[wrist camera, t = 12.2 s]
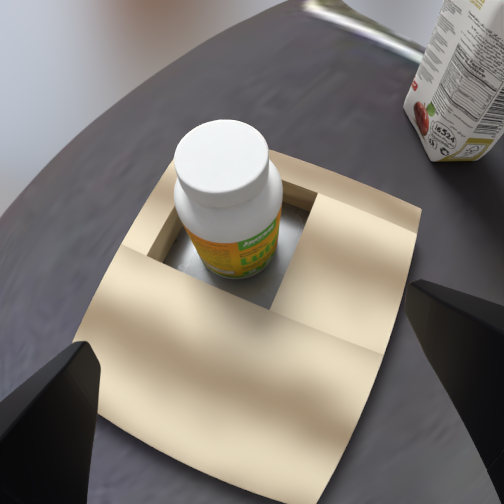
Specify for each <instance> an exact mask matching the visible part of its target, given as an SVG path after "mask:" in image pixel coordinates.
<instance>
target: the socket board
mask: <svg viewBox="0 0 504 504" xmlns="http://www.w3.org/2000/svg"><path fill="white" fill-rule="evenodd" d="M268 150H269V149H268ZM269 159H270V160H271V161H272V163H273V164H274V165H275V167H276V168H277V170H278V172H279V174H280V177H281V181H282V186H283V198H282V208H281V217H280V226H279V235H278V243H277V248H276V252H275V254H274V257H273V258H272V260H271V262H270V263H269V264H268V265H267V266H266V267H265V268H264V269H263V270H262V271H261V272H259V273H257V274H256V275H254V276H251V277H248V278H244V279H229V278H224V277H221V276H219V275H217V274H215V273H213V272H212V271H211V270H210V269H208V268H207V267H206V265H205V264H204V263H203V262H202V260H201V259H200V257H199V255H198V253H197V251H196V249H195V247H194V245H193V243H192V241H191V239H190V237H189V235H188V233H187V232H186V230H185V228H184V226H183V224H182V222H181V220H180V218H179V216H178V213H177V210H176V207H175V203H174V187H175V183H176V180H177V177H178V176H177V174H176V171H175V167H174V159H173V161H172V162H171V164H170V165H169V167H168V168H167V170H166V171H165V173H164V174H163V176H162V177H161V179H160V180H159V182H158V184H157V185H156V187H155V188H154V190H153V191H152V193H151V195H150V196H149V198H148V200H147V201H146V203H145V204H144V206H143V208H142V209H141V211H140V213H139V214H138V216H137V218H136V219H135V221H134V223H133V225H132V226H131V228H130V230H129V232H128V233H127V235H126V237H125V239H124V240H123V242H122V244H121V246H120V247H119V249H118V251H117V253H116V255H115V257H114V258H113V260H112V262H111V264H110V266H109V268H108V270H107V272H106V273H105V275H104V277H103V279H102V281H101V283H100V285H99V287H98V289H97V291H96V293H95V295H94V297H93V299H92V301H91V303H90V305H89V307H88V309H87V312H86V314H85V316H84V318H83V320H82V322H81V324H80V326H79V329H78V331H77V333H76V335H75V338H74V340H73V342H76V341H87V342H89V343H90V345H91V347H92V349H93V351H94V353H95V355H96V356H97V358H98V360H99V362H100V365H101V376H100V388H99V402H98V414H100V415H101V416H103V417H104V418H106V419H107V420H109V421H110V422H112V423H114V424H115V425H117V426H118V427H120V428H121V429H123V430H125V431H126V432H128V433H130V434H131V435H133V436H135V437H136V438H138V439H140V440H141V441H143V442H145V443H147V444H148V445H150V446H152V447H154V448H156V449H158V450H159V451H161V452H163V453H165V454H167V455H169V456H171V457H173V458H175V459H177V460H179V461H181V462H183V463H185V464H187V465H189V466H191V467H193V468H195V469H197V470H199V471H202V472H204V473H206V474H208V475H211V476H213V477H215V478H218V479H220V480H222V481H225V482H227V483H230V484H232V485H235V486H237V487H240V488H243V489H245V490H248V491H251V492H253V493H256V494H259V495H262V496H265V497H268V498H271V499H274V500H277V501H280V502H283V503H287V504H316V503H317V501H318V499H319V498H320V496H321V494H322V492H323V491H324V489H325V487H326V485H327V483H328V482H329V480H330V478H331V476H332V474H333V472H334V470H335V468H336V466H337V464H338V462H339V460H340V458H341V456H342V454H343V452H344V450H345V448H346V446H347V444H348V442H349V440H350V438H351V435H352V433H353V431H354V429H355V427H356V424H357V422H358V420H359V417H360V415H361V413H362V410H363V408H364V406H365V403H366V401H367V398H368V396H369V393H370V391H371V388H372V386H373V383H374V381H375V378H376V375H377V373H378V370H379V367H380V364H381V362H382V359H383V356H384V353H385V350H386V347H387V344H388V341H389V338H390V335H391V332H392V329H393V325H394V322H395V319H396V316H397V312H398V309H399V305H400V302H401V298H402V295H403V291H404V287H405V283H406V279H407V275H408V271H409V267H410V263H411V259H412V254H413V250H414V245H415V241H416V236H417V231H418V226H419V221H420V215H421V209H420V208H418V207H416V206H414V205H411V204H409V203H407V202H405V201H403V200H400V199H398V198H396V197H393V196H391V195H389V194H386V193H384V192H382V191H379V190H377V189H375V188H372V187H370V186H367V185H365V184H362V183H360V182H358V181H355V180H353V179H350V178H347V177H345V176H342V175H340V174H337V173H335V172H332V171H329V170H327V169H324V168H321V167H318V166H316V165H313V164H310V163H307V162H305V161H302V160H299V159H296V158H293V157H290V156H287V155H284V154H281V153H278V152H275V151H272V150H269ZM73 342H72V343H73Z"/></svg>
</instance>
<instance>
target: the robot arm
mask: <svg viewBox="0 0 504 504" xmlns="http://www.w3.org/2000/svg"><path fill="white" fill-rule="evenodd" d="M405 313H406V316H407V318H408V320H409V322H410V324H411V326H412V328H413V330H414V332H415V334H416V337H417V339H418V341H419V343H420V345H421V347H422V349H423V351H424V353H425V355H426V357H427V359H428V361H429V362H430V364H431V366H432V367H433V369H434V371H435V372H436V374H437V376H438V378H439V379H440V381H441V383H442V385H443V386H444V388H445V390H446V392H447V393H448V395H449V397H450V399H451V401H452V402H453V404H454V406H455V408H456V410H457V412H458V413H459V415H460V417H461V419H462V421H463V423H464V425H465V427H466V429H467V430H468V432H469V434H470V436H471V438H472V440H473V442H474V444H475V446H476V448H477V450H478V452H479V454H480V457H481V459H482V461H483V463H484V465H485V467H486V469H487V472H488V474H489V476H490V478H491V481H492V483H493V485H494V487H495V490H496V492H497V494H498V497H499V499H500V501H501V504H504V306H502V305H499V304H496V303H493V302H490V301H487V300H484V299H481V298H478V297H475V296H472V295H469V294H466V293H463V292H460V291H457V290H454V289H450V288H447V287H444V286H441V285H438V284H435V283H432V282H429V281H426V280H422V279H419V280H415V281H411V282H409V283H408V285H407V289H406V298H405ZM100 376H101V365H100V362H99V360H98V358H97V356H96V355H95V353H94V351H93V349H92V347H91V345H90V343H89V342H87V341H76V342H73V343H72V344H71V345H70V346H68V347H67V348H66V349H65V350H63V351H62V352H61V353H60V354H58V355H57V356H56V357H55V358H53V359H52V360H51V361H50V362H48V363H47V364H46V365H45V366H43V367H42V368H41V369H40V370H38V371H37V372H36V373H35V374H34V375H32V376H31V377H30V378H29V379H27V380H26V381H25V382H24V383H23V384H21V385H20V386H19V387H18V388H17V389H15V390H14V391H13V392H12V393H11V394H9V395H8V396H7V397H6V398H5V399H3V400H2V401H1V402H0V504H87V494H88V483H89V473H90V464H91V456H92V449H93V441H94V434H95V428H96V422H97V414H98V402H99V388H100Z"/></svg>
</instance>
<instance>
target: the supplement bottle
mask: <svg viewBox="0 0 504 504" xmlns="http://www.w3.org/2000/svg"><path fill="white" fill-rule="evenodd" d="M174 167H175V171H176V174H177V176H178V177H177V180H176V183H175V187H174V203H175V207H176V210H177V213H178V216H179V218H180V220H181V222H182V224H183V226H184V228H185V230H186V232H187V233H188V235H189V237H190V239H191V241H192V243H193V245H194V247H195V249H196V251H197V253H198V255H199V257H200V259H201V260H202V262H203V263H204V264H205V265H206V267H207V268H208V269H210V270H211V271H212V272H213V273H215V274H217V275H219V276H221V277H224V278H229V279H244V278H248V277H251V276H254V275H256V274H257V273H259V272H261V271H262V270H263V269H264V268H265V267H266V266H267V265H268V264H269V263H270V262H271V260H272V258H273V257H274V254H275V252H276V248H277V243H278V235H279V226H280V217H281V208H282V198H283V186H282V181H281V177H280V174H279V172H278V170H277V168H276V167H275V165H274V164H273V163H272V161H271V160H270V159H269V150H268V146H267V143H266V141H265V139H264V138H263V136H262V135H261V134H260V133H259V132H258V131H257V130H256V129H255V128H253V127H252V126H250V125H248V124H245V123H243V122H239V121H234V120H216V121H212V122H208V123H205V124H202V125H200V126H198V127H196V128H194V129H193V130H191V131H190V132H189V133H188V134H187V135H185V137H184V138H183V139H182V140H181V141H180V143H179V145H178V146H177V149H176V152H175V156H174Z"/></svg>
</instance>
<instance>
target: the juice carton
mask: <svg viewBox="0 0 504 504" xmlns="http://www.w3.org/2000/svg"><path fill="white" fill-rule="evenodd" d="M403 108H404V111H405V113H406V114H407V116H408V118H409V120H410V121H411V123H412V125H413V126H414V128H415V130H416V131H417V133H418V135H419V138H420V140H421V142H422V145H423V147H424V149H425V151H426V153H427V155H428V157H429V159H430V160H431V161H434V162H436V161H476V160H478V159H480V158H481V157H482V156H484V155H485V154H486V153H487V152H488V151H489V150H490V149H491V148H492V147H493V146H494V144H495V143H496V142H497V141H498V139H499V138H500V137H501V136H502V134H503V133H504V0H444V2H443V5H442V8H441V11H440V13H439V16H438V19H437V22H436V25H435V27H434V30H433V33H432V36H431V38H430V41H429V43H428V46H427V48H426V51H425V53H424V56H423V58H422V61H421V63H420V66H419V68H418V71H417V73H416V76H415V78H414V80H413V83H412V85H411V88H410V90H409V92H408V95H407V97H406V100H405V102H404V105H403Z"/></svg>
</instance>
